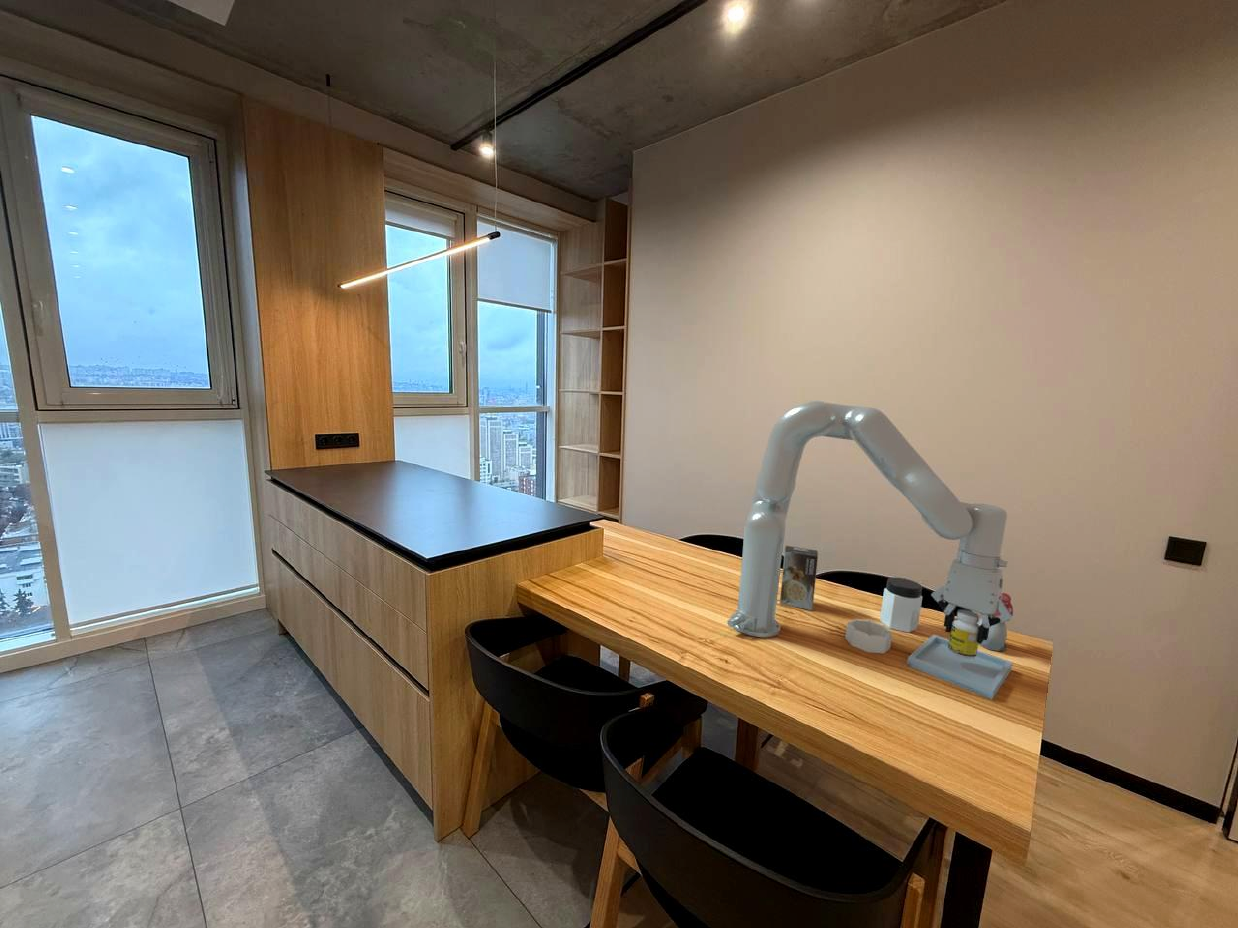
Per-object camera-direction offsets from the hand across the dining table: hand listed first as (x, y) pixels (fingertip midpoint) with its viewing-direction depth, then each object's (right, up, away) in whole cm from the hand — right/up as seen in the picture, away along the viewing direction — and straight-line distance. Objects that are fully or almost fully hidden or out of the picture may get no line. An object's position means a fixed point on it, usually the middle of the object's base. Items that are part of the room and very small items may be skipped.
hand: (964, 635), depth 112 cm
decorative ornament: (+16, -7, +13) cm, 22 cm away
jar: (-3, -5, +22) cm, 22 cm away
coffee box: (-27, -2, +32) cm, 42 cm away
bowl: (-17, -6, +10) cm, 21 cm away
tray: (0, -8, +1) cm, 8 cm away
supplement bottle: (0, -5, +1) cm, 5 cm away
